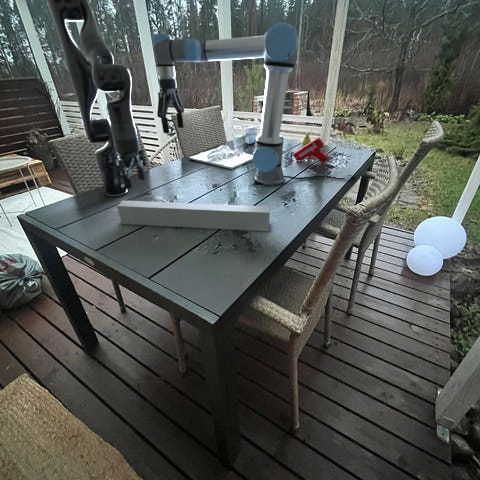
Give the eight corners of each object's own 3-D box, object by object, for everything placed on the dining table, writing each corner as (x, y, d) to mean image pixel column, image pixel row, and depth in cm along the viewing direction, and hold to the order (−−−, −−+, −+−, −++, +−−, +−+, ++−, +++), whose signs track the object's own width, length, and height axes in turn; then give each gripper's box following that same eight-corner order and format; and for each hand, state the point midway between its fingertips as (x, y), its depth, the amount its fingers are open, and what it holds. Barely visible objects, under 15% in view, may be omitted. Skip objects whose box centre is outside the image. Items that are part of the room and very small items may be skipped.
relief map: (231, 168, 161) (231, 160, 158) (189, 159, 179) (189, 151, 176) (257, 158, 179) (257, 150, 176) (217, 150, 197) (216, 142, 194)
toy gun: (331, 157, 168) (319, 136, 164) (331, 159, 164) (318, 137, 160) (306, 172, 178) (294, 153, 174) (305, 174, 174) (292, 154, 170)
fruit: (299, 146, 205) (300, 129, 198) (307, 145, 207) (309, 128, 201) (303, 148, 200) (305, 131, 193) (312, 147, 202) (314, 130, 196)
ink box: (252, 141, 220) (252, 125, 213) (257, 142, 217) (257, 126, 210) (245, 142, 215) (245, 127, 208) (249, 144, 212) (249, 127, 205)
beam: (269, 224, 104) (270, 206, 100) (268, 231, 100) (269, 212, 96) (127, 218, 110) (122, 200, 106) (121, 224, 106) (116, 206, 102)
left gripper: (127, 131, 95) (137, 176, 104) (100, 140, 84) (114, 190, 92) (146, 132, 94) (155, 177, 102) (122, 142, 82) (133, 192, 91)
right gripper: (173, 77, 129) (179, 125, 140) (142, 79, 109) (152, 135, 120) (187, 77, 127) (192, 125, 138) (158, 79, 107) (167, 136, 118)
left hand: (135, 183), depth 97 cm, fingers open, 8 cm apart
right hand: (173, 130), depth 129 cm, fingers open, 13 cm apart
